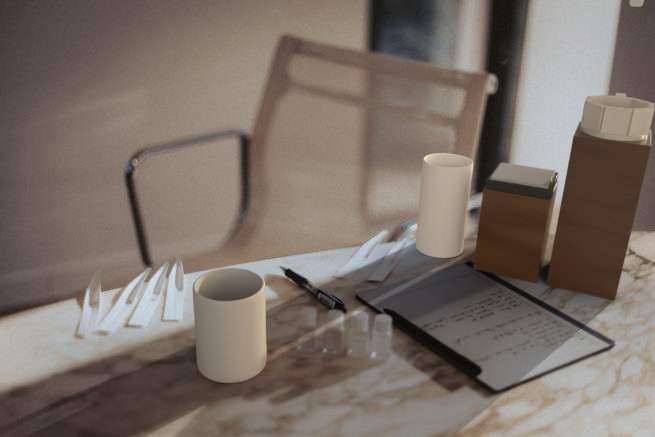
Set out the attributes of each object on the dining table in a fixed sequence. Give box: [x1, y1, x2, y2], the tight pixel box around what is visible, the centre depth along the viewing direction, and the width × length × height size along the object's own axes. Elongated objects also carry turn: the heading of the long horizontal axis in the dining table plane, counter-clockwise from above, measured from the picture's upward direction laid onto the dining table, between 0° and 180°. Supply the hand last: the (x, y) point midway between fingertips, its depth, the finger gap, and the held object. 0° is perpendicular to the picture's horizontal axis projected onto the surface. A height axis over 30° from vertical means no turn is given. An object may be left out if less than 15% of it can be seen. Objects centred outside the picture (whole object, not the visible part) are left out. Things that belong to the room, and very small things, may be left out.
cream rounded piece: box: [580, 92, 655, 141], centre depth 95 cm, size 22×9×4 cm, turn 155°
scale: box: [484, 161, 559, 199], centre depth 98 cm, size 10×10×2 cm
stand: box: [472, 120, 652, 301], centre depth 97 cm, size 10×22×24 cm, turn 65°
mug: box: [192, 267, 268, 384], centre depth 76 cm, size 12×8×11 cm
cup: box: [415, 152, 474, 259], centre depth 106 cm, size 8×8×16 cm
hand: (635, 4), depth 92 cm, fingers open, 8 cm apart
